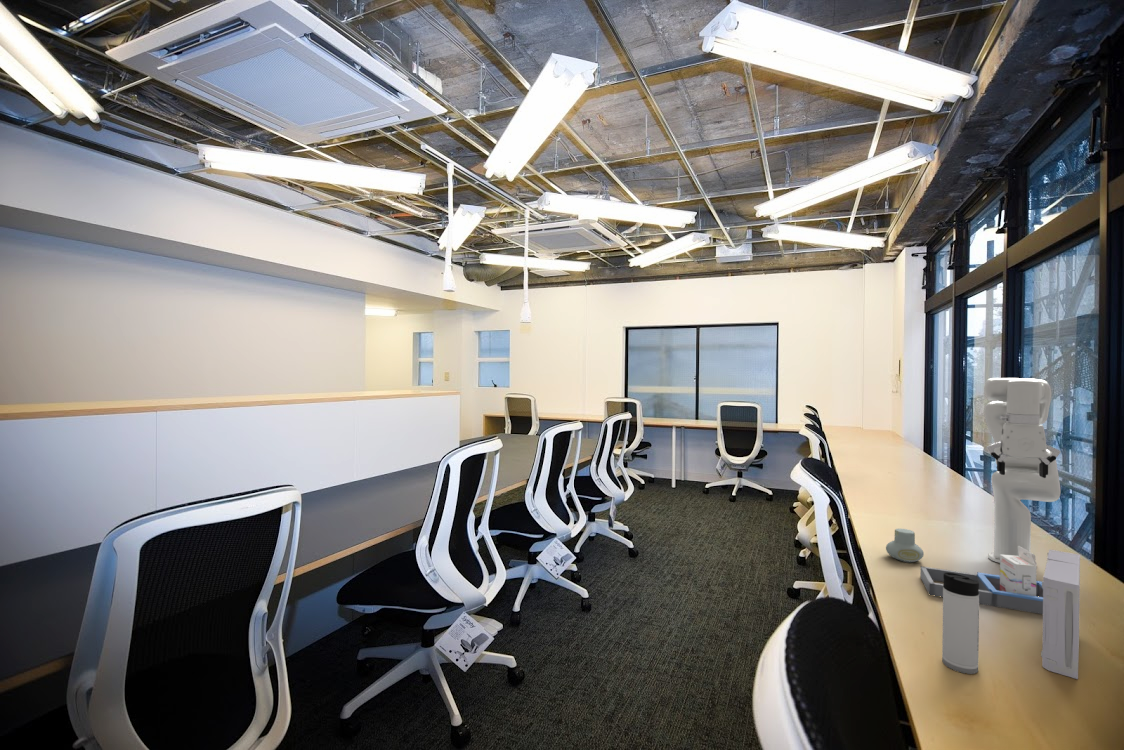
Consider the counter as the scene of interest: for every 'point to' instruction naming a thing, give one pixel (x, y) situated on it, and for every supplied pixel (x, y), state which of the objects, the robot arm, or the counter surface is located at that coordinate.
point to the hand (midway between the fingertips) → (1021, 475)
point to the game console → (1061, 613)
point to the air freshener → (904, 546)
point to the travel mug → (960, 623)
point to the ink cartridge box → (1018, 573)
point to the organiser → (987, 590)
